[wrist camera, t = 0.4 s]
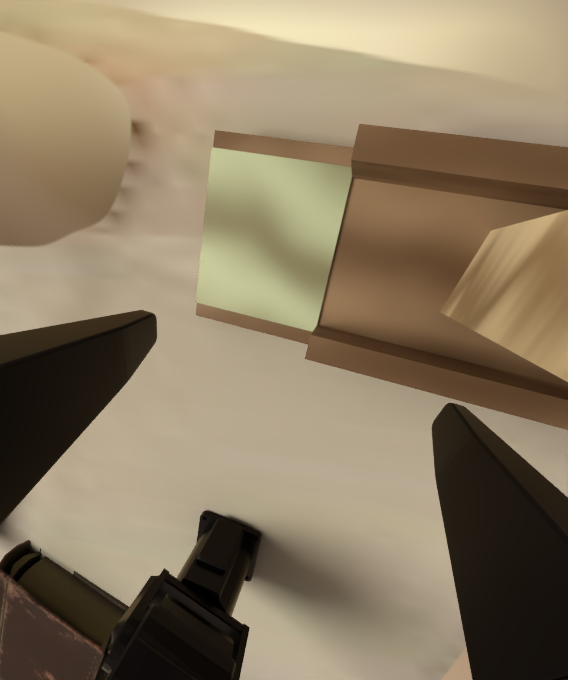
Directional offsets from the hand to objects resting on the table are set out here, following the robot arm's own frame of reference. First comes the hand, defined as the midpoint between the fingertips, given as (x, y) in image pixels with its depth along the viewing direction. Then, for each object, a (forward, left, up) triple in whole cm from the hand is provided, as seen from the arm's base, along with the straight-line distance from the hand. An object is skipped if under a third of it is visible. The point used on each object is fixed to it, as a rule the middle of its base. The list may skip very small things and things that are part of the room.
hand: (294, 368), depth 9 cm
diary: (-55, +27, -14) cm, 62 cm away
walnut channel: (+3, -5, -13) cm, 15 cm away
